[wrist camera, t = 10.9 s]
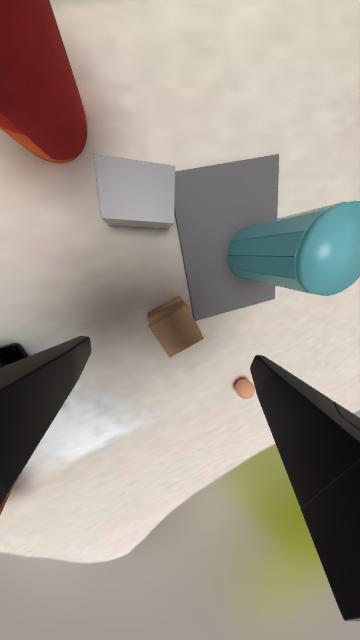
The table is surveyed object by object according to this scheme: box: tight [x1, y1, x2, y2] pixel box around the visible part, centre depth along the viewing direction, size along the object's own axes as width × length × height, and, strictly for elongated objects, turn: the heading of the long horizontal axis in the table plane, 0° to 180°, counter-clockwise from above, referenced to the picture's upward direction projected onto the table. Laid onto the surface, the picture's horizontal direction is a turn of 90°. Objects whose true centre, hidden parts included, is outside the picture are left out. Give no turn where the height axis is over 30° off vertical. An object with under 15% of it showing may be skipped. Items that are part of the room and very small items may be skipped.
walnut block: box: [148, 296, 204, 358], centre depth 20 cm, size 4×4×4 cm
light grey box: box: [94, 154, 175, 229], centre depth 15 cm, size 6×4×4 cm, turn 88°
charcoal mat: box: [174, 154, 279, 321], centre depth 20 cm, size 12×16×1 cm
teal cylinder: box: [227, 201, 360, 296], centre depth 16 cm, size 6×6×10 cm
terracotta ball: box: [235, 379, 255, 399], centre depth 28 cm, size 3×3×3 cm
